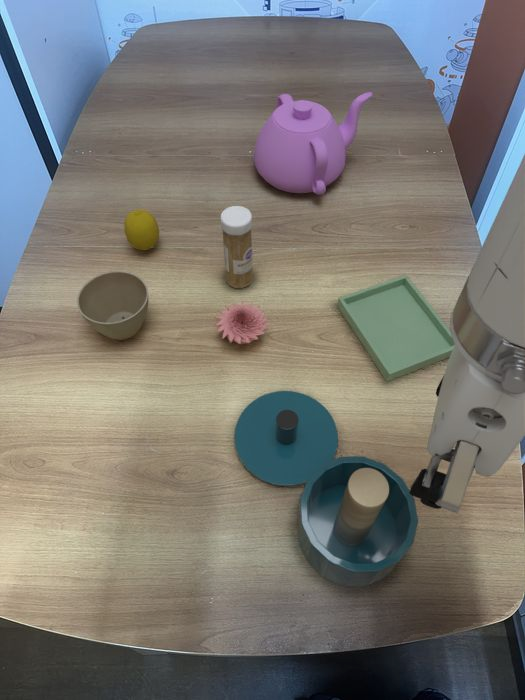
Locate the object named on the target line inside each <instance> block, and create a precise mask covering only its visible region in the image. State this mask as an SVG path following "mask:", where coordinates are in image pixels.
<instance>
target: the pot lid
mask: <svg viewBox="0 0 525 700" xmlns="http://www.w3.org/2000/svg"><path fill="white" fill-rule="evenodd" d="M338 445H339V433H338V428H337V425H336V422H335V420H334V418H333V416H332V414H331V413H330V412H329V410H328V409H327V408H326V407H325V406H324V405H323V404H322V403H321V402H319V401H318V400H317V399H315V398H313V397H311V396H310V395H307V394H305V393H301V392H298V391H292V390H278V391H277V390H276V391H271V392H269V393H266V394H263V395H261V396H259V397H257V398H255V399H254V400H253V401H252V402H250V403H249V404H248V405H247V406H246V407H245V408H244V409H243V410H242V411H241V413H240V415H239V417H238V419H237V422H236V424H235V429H234V446H235V450H236V454H237V456H238V458H239V460H240V462H241V464H242V465H243V466H244V468H245V469H246V470H247V471H248V472H249V473H250V474H251V475H253V476H254V477H255V478H257V479H258V480H260V481H262V482H265V483H266V484H269V485H273V486H278V487H297V486H302V485H306V482H307V480H308V479H309V478H310V477H311V476H312V475H313V473H314V472H315V471H316V470H317V469H318V468H319V467H320V466H321V465H323V464H325V463H327V462H330V461H332V460H335V458H336V454H337V451H338V447H339V446H338Z"/></svg>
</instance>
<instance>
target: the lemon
mask: <svg viewBox="0 0 525 700" xmlns="http://www.w3.org/2000/svg"><path fill="white" fill-rule="evenodd" d="M123 226H124V227H123V230H124V235H125V238H126V240H127V241H128V243H129V244H130V245H131V246H132V247H133V248H134V249H137V250H140V251H147V250H150V249H152V248H153V247H154V246H155V245H156V244H157V243H158V241H159V238H160V228H159V224H158V221H157V219H156V218H155V216H154V215H153V214H152V213H151V212H150V211H148V210H146V209H134V210H132V211H130V212H129V213H128V214H127V216H126V217H125V220H124V225H123Z"/></svg>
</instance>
